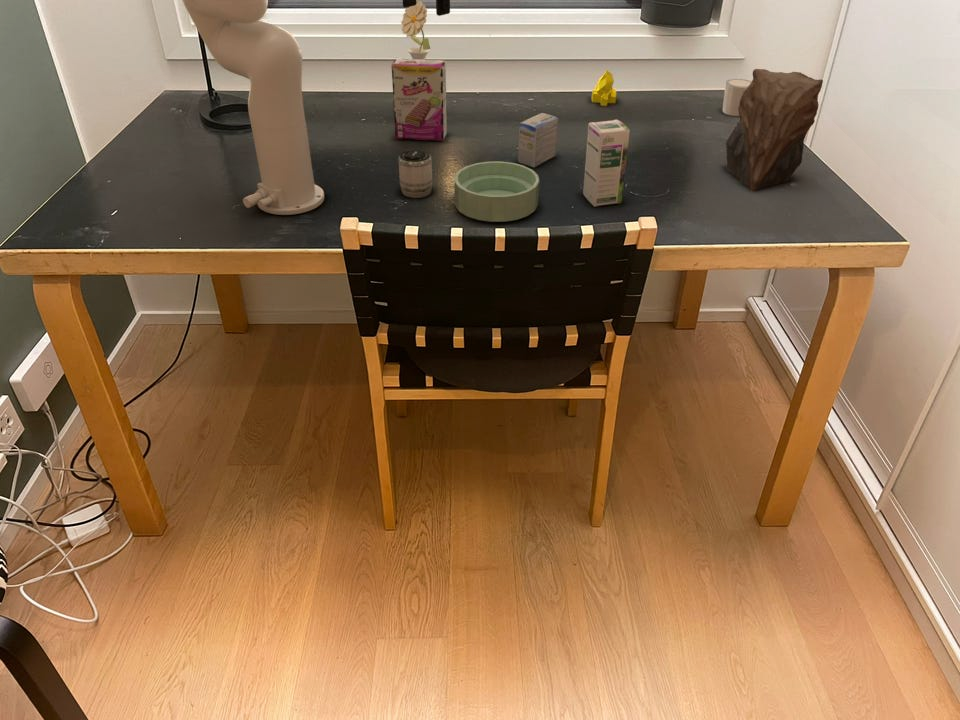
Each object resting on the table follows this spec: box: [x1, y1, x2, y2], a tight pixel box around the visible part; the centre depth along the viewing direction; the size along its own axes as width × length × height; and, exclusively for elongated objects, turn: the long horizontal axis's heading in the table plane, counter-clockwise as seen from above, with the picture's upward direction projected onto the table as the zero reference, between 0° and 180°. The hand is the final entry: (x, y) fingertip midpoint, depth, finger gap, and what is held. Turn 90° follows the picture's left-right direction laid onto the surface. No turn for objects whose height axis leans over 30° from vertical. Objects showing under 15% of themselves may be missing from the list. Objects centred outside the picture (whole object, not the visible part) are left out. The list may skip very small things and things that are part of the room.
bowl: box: [453, 160, 540, 223], centre depth 140 cm, size 16×16×6 cm
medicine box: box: [517, 112, 559, 168], centre depth 156 cm, size 8×4×9 cm, turn 141°
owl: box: [725, 68, 824, 192], centre depth 147 cm, size 13×13×20 cm
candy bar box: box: [391, 57, 448, 142], centre depth 164 cm, size 11×5×16 cm, turn 84°
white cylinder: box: [722, 78, 752, 117], centre depth 180 cm, size 7×7×7 cm
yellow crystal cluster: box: [591, 69, 617, 107], centre depth 186 cm, size 6×8×8 cm
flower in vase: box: [400, 0, 431, 60], centre depth 175 cm, size 13×11×25 cm
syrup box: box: [582, 119, 631, 208], centre depth 139 cm, size 6×6×14 cm
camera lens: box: [397, 148, 433, 199], centre depth 144 cm, size 6×6×8 cm
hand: (426, 10), depth 149 cm, fingers open, 9 cm apart
